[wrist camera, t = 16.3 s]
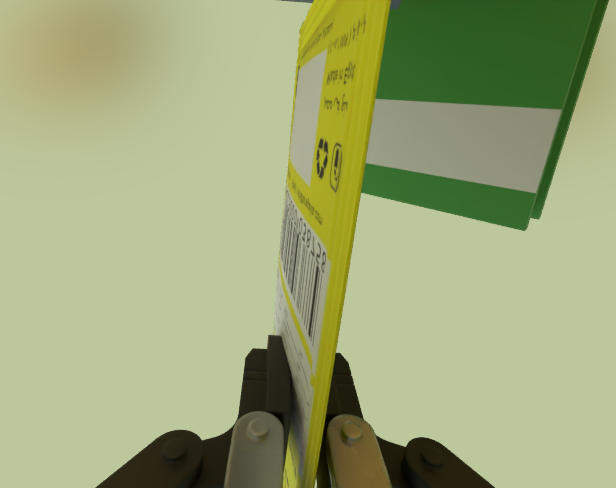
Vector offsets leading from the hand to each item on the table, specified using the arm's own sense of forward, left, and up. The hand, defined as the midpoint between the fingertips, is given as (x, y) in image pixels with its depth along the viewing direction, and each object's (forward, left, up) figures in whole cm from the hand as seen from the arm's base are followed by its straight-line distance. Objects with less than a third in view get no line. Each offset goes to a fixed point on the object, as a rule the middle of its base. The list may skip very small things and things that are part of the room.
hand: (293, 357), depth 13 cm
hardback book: (-21, +18, -26) cm, 38 cm away
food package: (0, +2, -12) cm, 12 cm away
